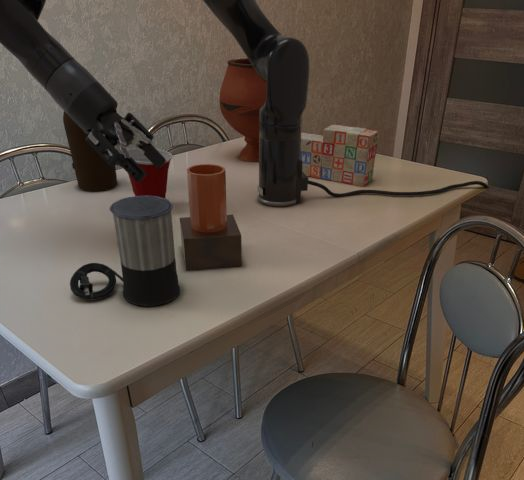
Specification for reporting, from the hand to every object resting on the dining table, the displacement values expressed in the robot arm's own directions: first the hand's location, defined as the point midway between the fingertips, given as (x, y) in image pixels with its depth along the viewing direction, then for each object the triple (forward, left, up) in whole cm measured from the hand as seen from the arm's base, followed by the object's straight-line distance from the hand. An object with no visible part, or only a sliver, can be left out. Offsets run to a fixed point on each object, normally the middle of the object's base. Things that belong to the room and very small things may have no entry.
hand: (153, 171), depth 94 cm
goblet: (-29, -59, -15) cm, 68 cm away
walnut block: (-9, +6, -14) cm, 18 cm away
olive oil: (+14, -40, -15) cm, 45 cm away
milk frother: (+6, +17, -15) cm, 23 cm away
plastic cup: (+1, -22, -15) cm, 27 cm away
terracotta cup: (-9, +6, -8) cm, 13 cm away
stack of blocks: (-45, -38, -15) cm, 61 cm away
